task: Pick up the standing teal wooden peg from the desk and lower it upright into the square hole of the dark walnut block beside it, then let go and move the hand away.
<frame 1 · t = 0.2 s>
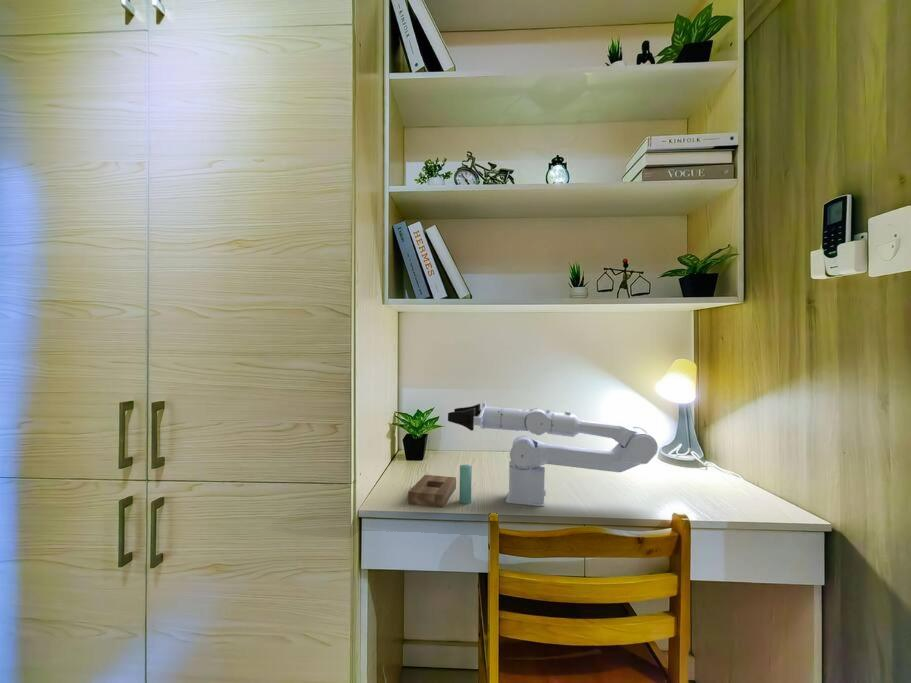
hand: (451, 414, 114), 21 cm above the table, fingers open, 7 cm apart
peg: (465, 501, 107), on the table
hole block: (433, 495, 111), on the table
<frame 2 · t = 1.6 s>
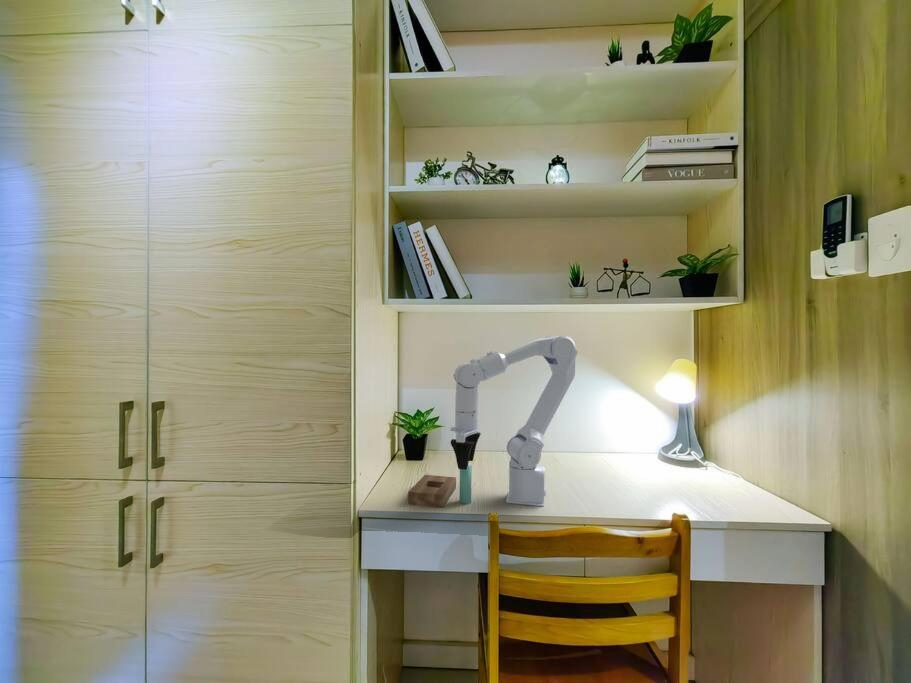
hand: (465, 464, 107), 9 cm above the table, fingers open, 7 cm apart
nothing on the table moved.
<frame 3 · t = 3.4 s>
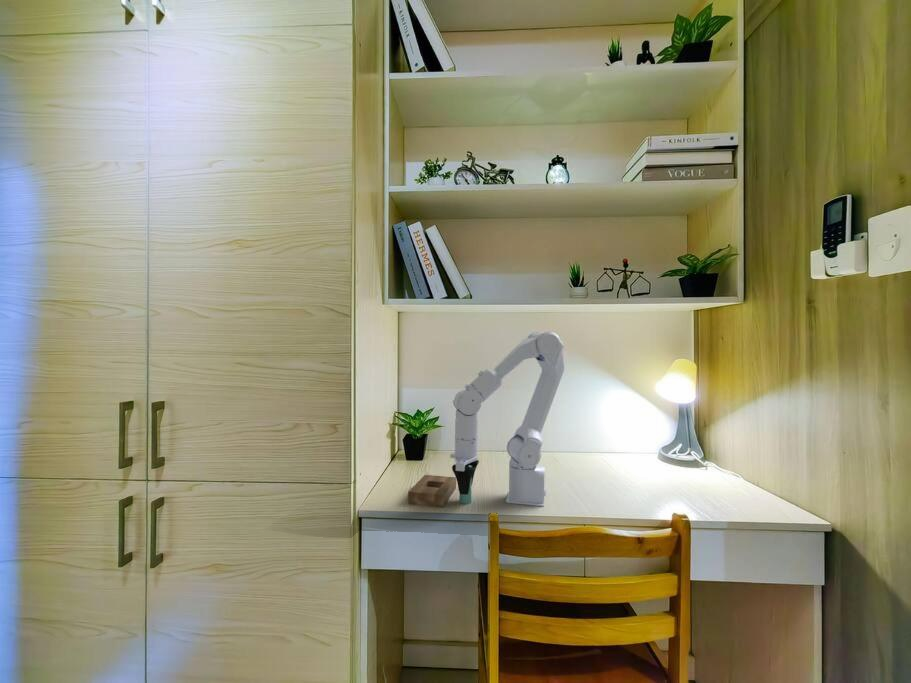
hand: (465, 491, 107), 3 cm above the table, fingers closed on peg, 3 cm apart
peg: (465, 501, 107), on the table, touching gripper
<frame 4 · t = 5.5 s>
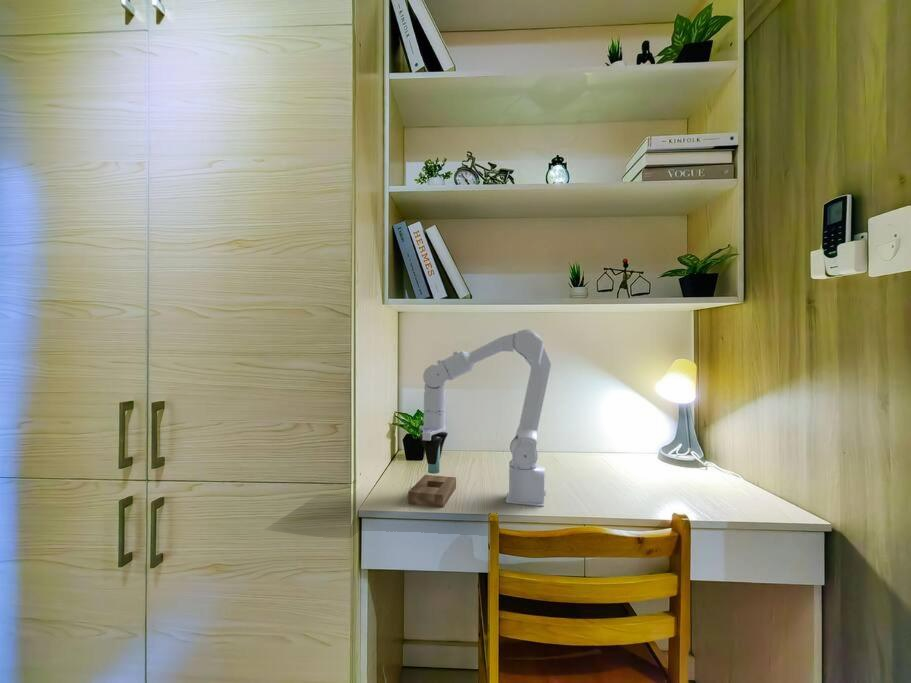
hand: (433, 462, 111), 9 cm above the table, fingers closed on peg, 3 cm apart
peg: (433, 471, 111), point 6 cm above the table, touching gripper
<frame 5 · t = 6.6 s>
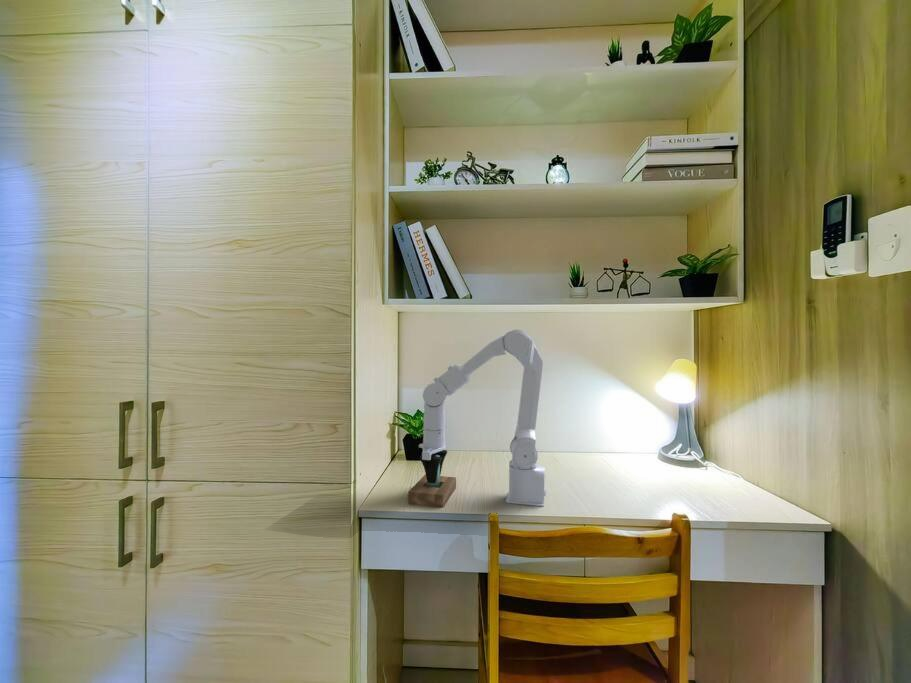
hand: (433, 480, 111), 4 cm above the table, fingers closed on peg, 3 cm apart
peg: (433, 490, 111), point 1 cm above the table, touching gripper
when the fingers open (4 cm above the table, at t = 7.5 s): peg drops 1 cm, resting in hole block.
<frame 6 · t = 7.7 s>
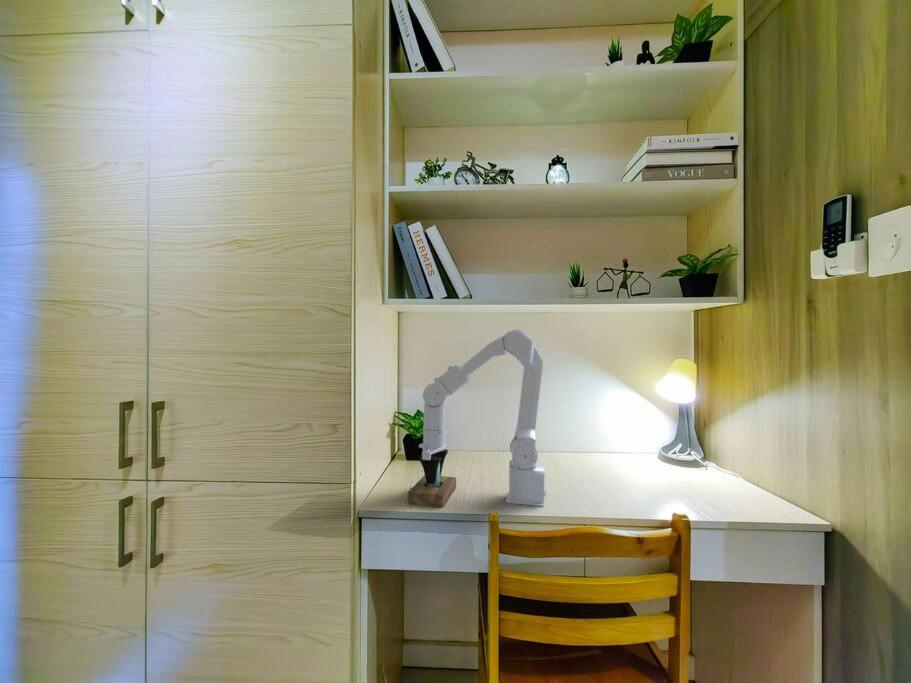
hand: (433, 480, 111), 4 cm above the table, fingers open, 4 cm apart
peg: (433, 495, 111), resting in hole block
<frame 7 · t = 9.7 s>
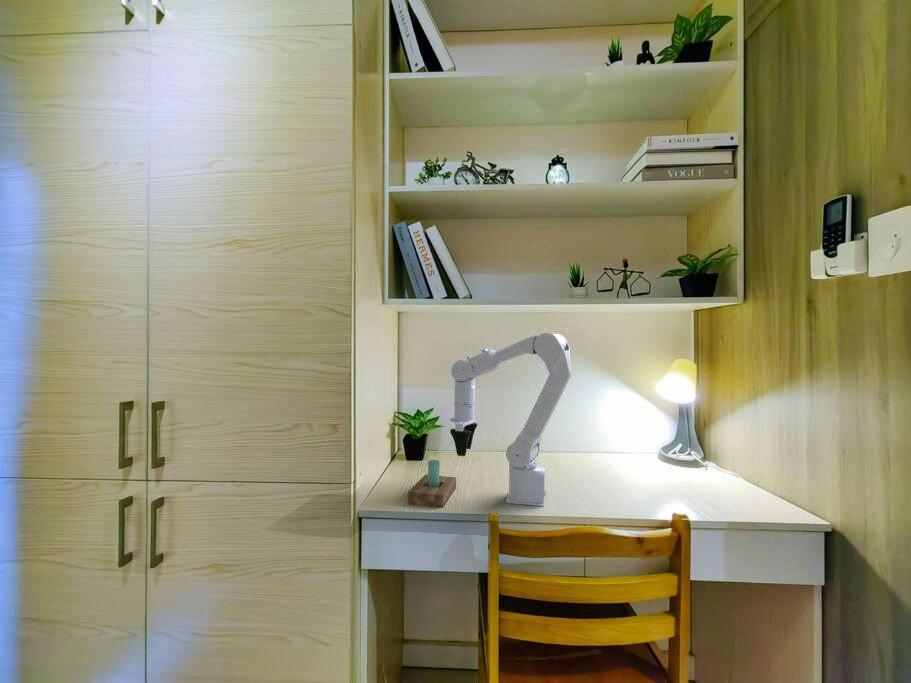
hand: (464, 452, 118), 10 cm above the table, fingers open, 7 cm apart
nothing on the table moved.
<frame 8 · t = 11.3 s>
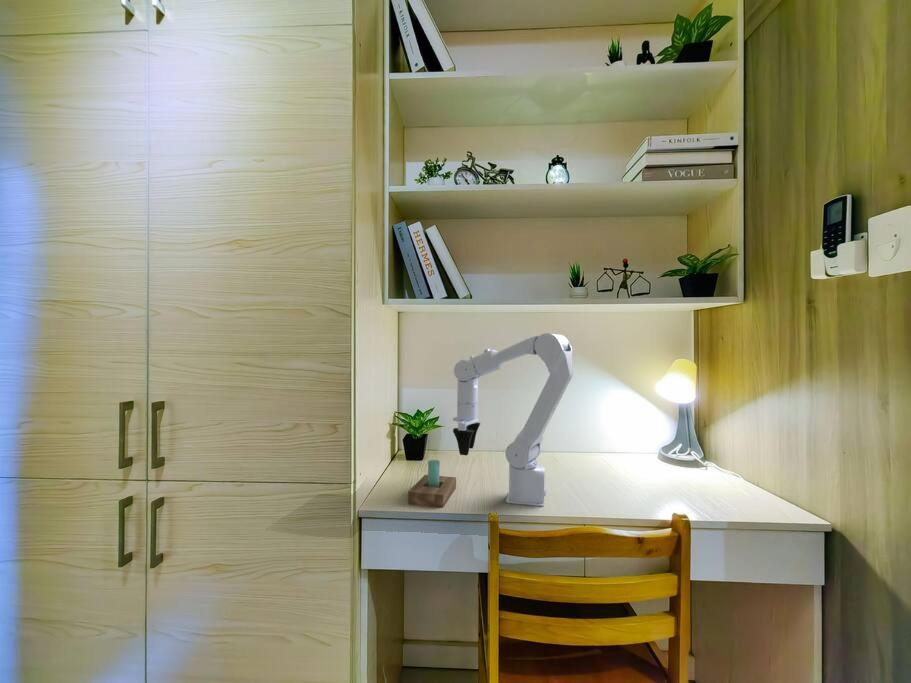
hand: (466, 451, 118), 10 cm above the table, fingers open, 7 cm apart
nothing on the table moved.
at the end: peg 0.0 cm off-centre on the hole block, point 0.0 cm above the hole block's base; peg tilted 0°; the gripper is holding nothing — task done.
